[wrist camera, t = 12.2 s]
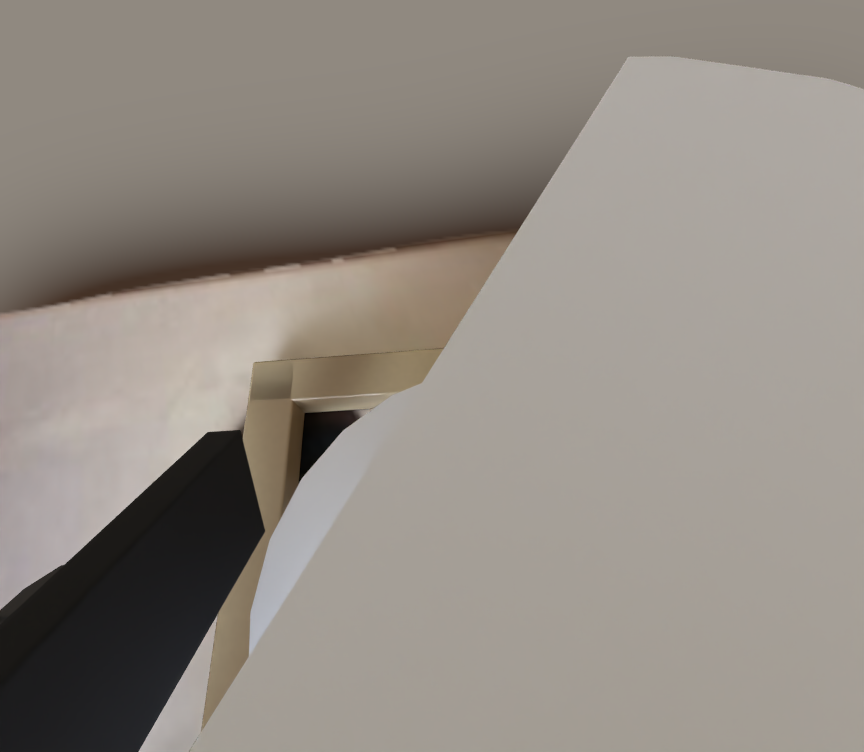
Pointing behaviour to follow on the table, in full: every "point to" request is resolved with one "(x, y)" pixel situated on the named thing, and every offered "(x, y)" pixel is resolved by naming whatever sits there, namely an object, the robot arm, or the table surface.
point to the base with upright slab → (607, 465)
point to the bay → (294, 463)
